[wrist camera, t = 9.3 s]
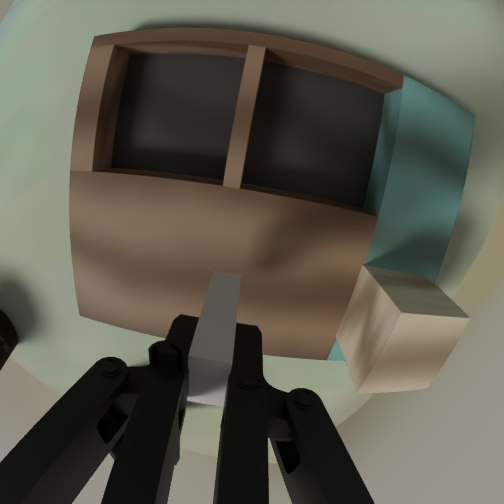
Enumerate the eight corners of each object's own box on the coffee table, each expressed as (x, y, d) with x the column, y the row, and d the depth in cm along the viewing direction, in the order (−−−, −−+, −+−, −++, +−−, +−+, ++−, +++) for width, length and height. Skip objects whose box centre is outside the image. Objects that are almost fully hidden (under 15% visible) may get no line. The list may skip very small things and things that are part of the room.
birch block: (362, 264, 18) (401, 312, 12) (426, 276, 18) (470, 318, 12) (335, 335, 20) (357, 393, 14) (397, 339, 20) (426, 388, 14)
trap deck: (112, 47, 15) (94, 36, 12) (452, 115, 16) (474, 115, 13) (95, 298, 22) (79, 315, 20) (384, 341, 24) (395, 361, 21)
